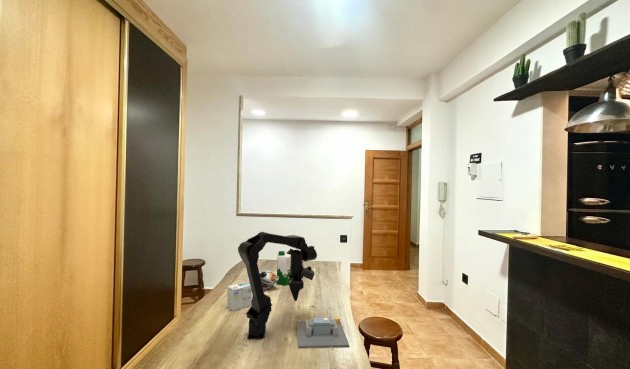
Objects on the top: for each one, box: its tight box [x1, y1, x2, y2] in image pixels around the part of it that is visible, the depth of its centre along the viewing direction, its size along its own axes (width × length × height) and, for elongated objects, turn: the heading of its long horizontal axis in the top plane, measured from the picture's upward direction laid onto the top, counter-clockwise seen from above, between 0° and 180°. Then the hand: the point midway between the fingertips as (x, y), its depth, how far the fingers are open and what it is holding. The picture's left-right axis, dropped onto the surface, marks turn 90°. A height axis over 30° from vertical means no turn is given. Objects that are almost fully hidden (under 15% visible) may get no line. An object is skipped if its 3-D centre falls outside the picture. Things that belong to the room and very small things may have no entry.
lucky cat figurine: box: [259, 269, 279, 291], centre depth 169 cm, size 15×12×14 cm
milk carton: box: [276, 250, 291, 286], centre depth 179 cm, size 9×9×20 cm
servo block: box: [307, 317, 335, 335], centre depth 118 cm, size 11×4×6 cm, turn 95°
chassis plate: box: [296, 316, 350, 349], centre depth 118 cm, size 20×20×4 cm
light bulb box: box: [226, 281, 253, 312], centre depth 143 cm, size 11×7×11 cm, turn 135°
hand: (295, 296), depth 130 cm, fingers open, 9 cm apart
